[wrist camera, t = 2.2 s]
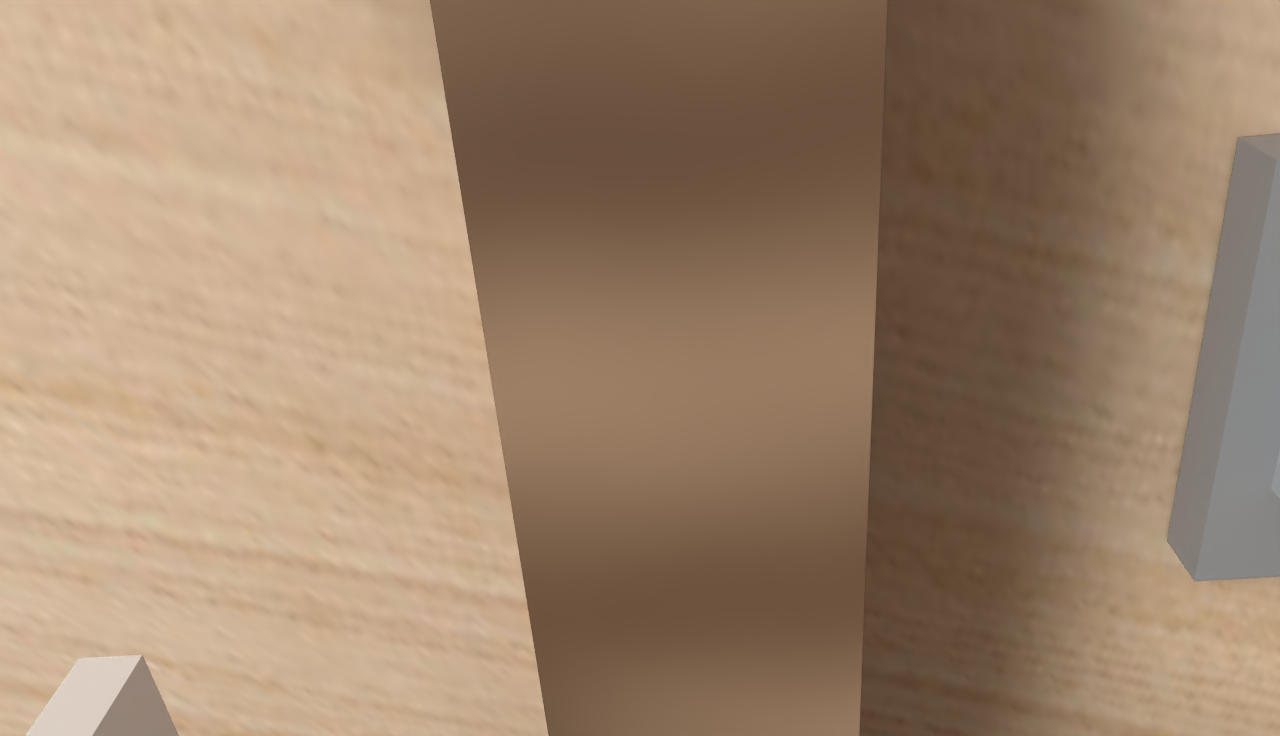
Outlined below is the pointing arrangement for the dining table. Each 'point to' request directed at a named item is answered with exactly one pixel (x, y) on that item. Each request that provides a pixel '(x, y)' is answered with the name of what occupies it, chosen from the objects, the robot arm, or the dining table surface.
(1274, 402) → the grey stepped block
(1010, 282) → the dining table surface
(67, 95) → the dining table surface
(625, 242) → the bar
